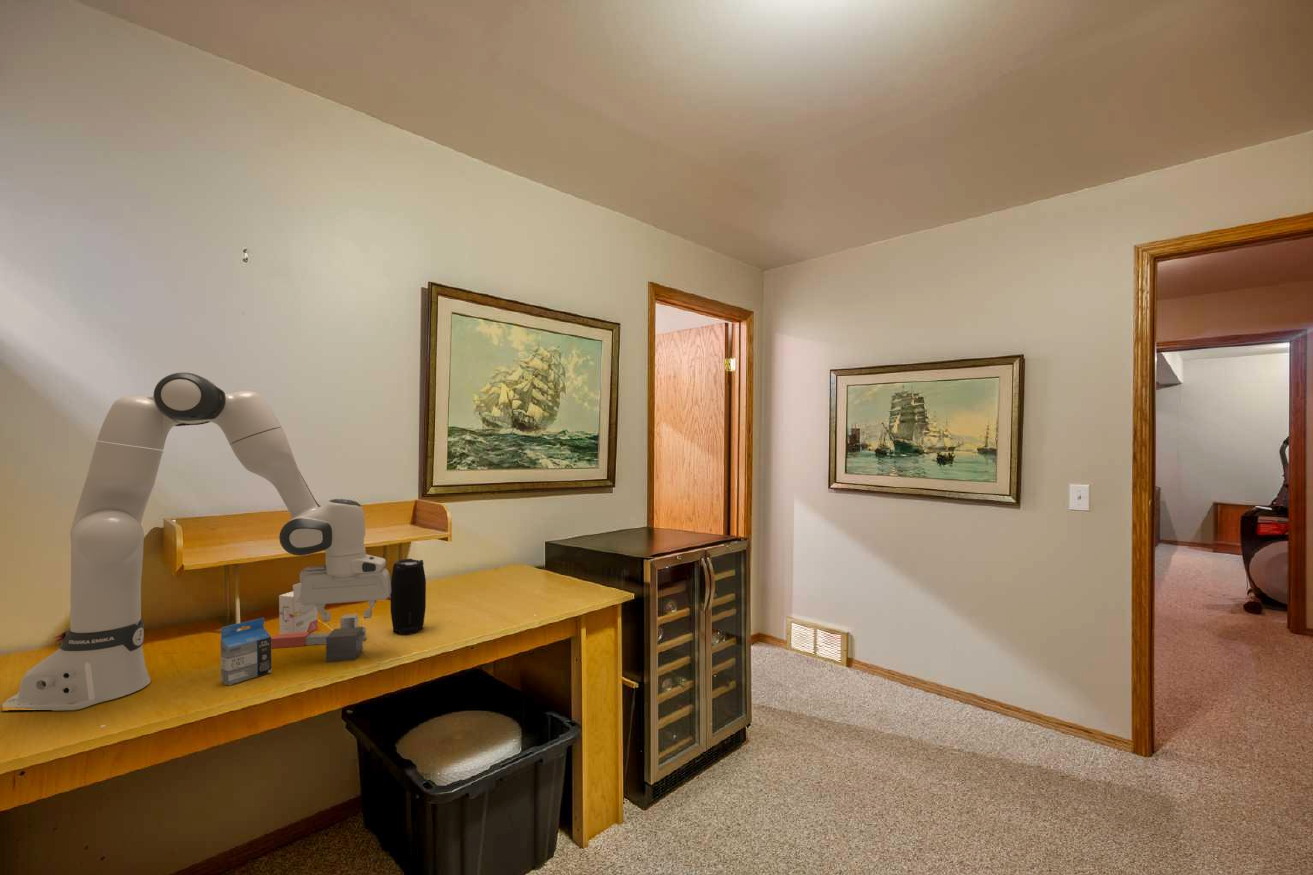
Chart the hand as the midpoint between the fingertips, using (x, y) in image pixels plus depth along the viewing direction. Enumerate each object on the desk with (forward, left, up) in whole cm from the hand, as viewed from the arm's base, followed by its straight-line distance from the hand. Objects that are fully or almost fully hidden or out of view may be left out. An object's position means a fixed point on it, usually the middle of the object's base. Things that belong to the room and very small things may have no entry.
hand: (347, 619), depth 146 cm
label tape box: (-18, -9, -9) cm, 23 cm away
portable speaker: (+12, +17, -9) cm, 22 cm away
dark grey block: (0, 0, -9) cm, 9 cm away
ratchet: (-9, +12, -9) cm, 17 cm away
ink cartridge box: (-17, +21, -9) cm, 29 cm away
